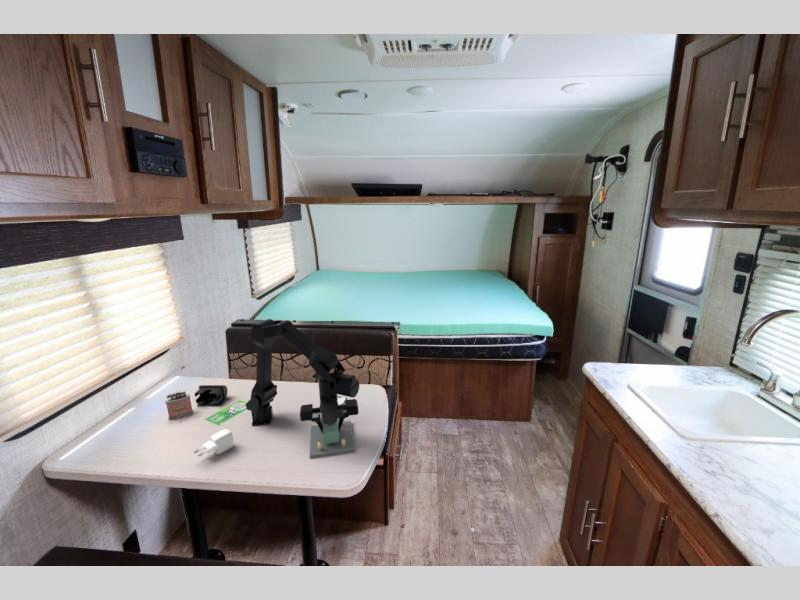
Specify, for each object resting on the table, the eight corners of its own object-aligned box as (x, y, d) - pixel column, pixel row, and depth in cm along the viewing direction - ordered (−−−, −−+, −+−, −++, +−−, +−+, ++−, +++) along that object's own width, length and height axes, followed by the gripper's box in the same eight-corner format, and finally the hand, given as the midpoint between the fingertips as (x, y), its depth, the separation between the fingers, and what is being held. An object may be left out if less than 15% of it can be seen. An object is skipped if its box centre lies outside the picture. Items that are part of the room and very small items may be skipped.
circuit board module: (323, 444, 119) (322, 432, 118) (323, 427, 127) (322, 416, 126) (339, 442, 120) (338, 430, 118) (338, 425, 128) (337, 414, 127)
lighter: (192, 409, 143) (188, 387, 140) (193, 414, 140) (189, 390, 137) (168, 416, 138) (163, 393, 136) (169, 421, 136) (163, 397, 133)
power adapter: (201, 466, 112) (198, 450, 111) (194, 460, 115) (191, 444, 114) (235, 447, 121) (233, 431, 119) (228, 441, 124) (225, 426, 122)
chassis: (309, 458, 115) (308, 448, 114) (311, 428, 130) (310, 419, 129) (354, 451, 118) (353, 442, 117) (350, 423, 133) (350, 414, 132)
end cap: (228, 397, 152) (226, 382, 150) (220, 406, 145) (218, 391, 143) (205, 397, 152) (202, 382, 150) (195, 406, 145) (192, 391, 143)
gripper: (296, 407, 110) (301, 451, 114) (359, 400, 113) (361, 443, 117) (299, 389, 120) (303, 430, 124) (356, 382, 124) (357, 423, 128)
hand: (331, 431), depth 123 cm, fingers closed on circuit board module, 5 cm apart
